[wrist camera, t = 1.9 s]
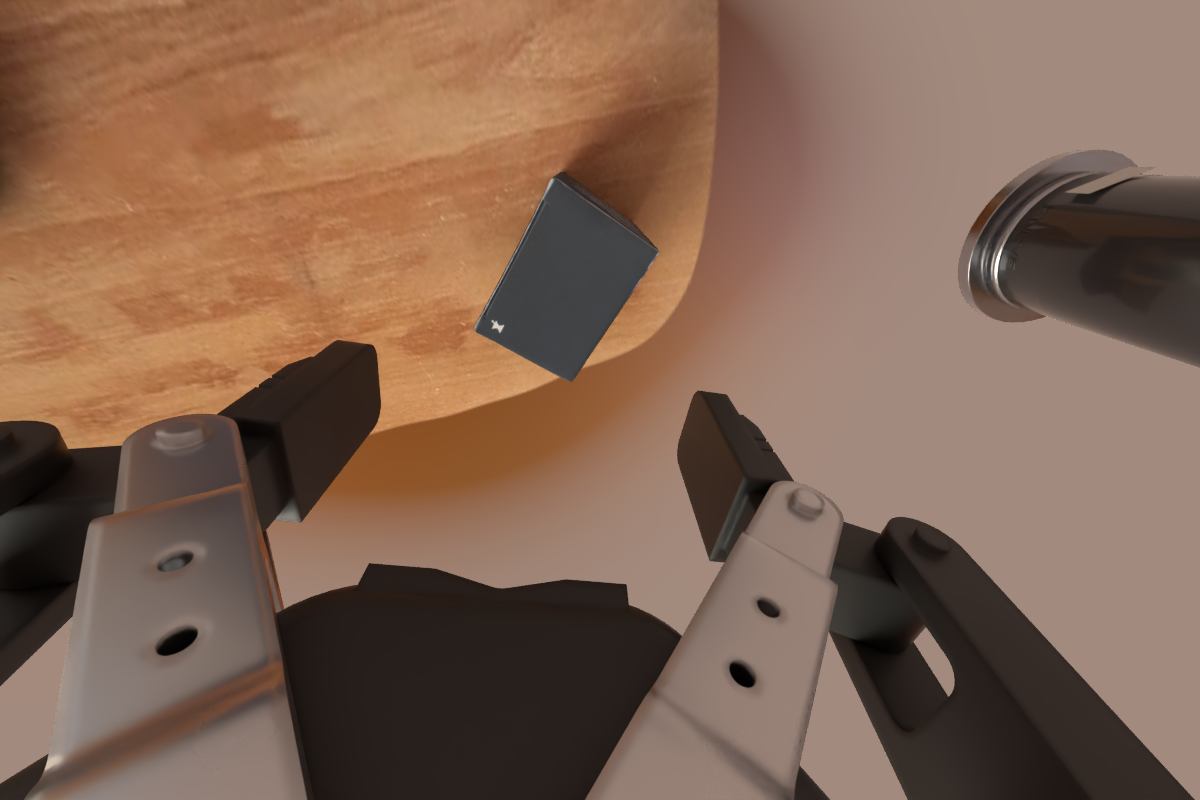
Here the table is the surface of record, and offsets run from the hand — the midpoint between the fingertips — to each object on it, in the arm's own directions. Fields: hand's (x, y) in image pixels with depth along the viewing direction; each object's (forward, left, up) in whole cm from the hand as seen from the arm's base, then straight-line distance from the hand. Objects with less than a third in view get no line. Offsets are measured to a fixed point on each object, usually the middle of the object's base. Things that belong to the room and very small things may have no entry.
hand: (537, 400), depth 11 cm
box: (0, 0, -21) cm, 21 cm away
